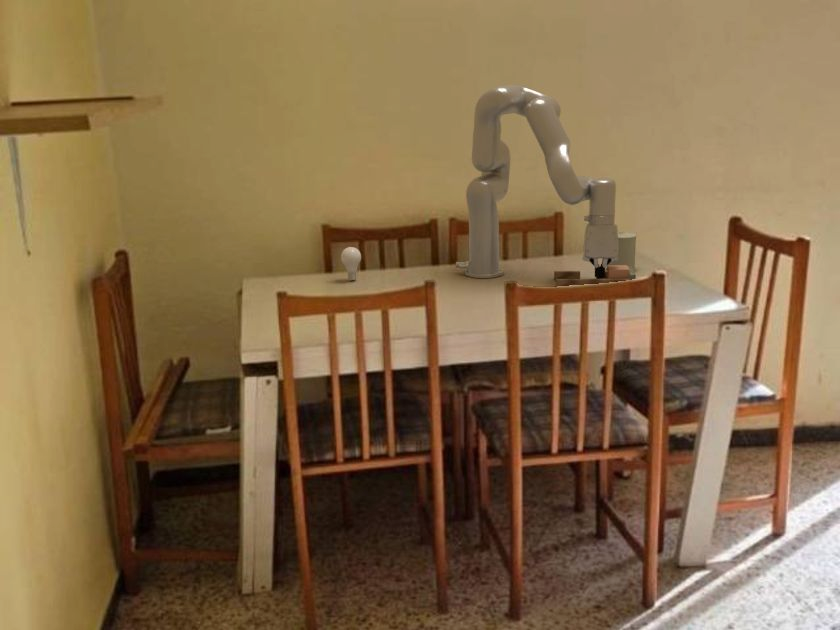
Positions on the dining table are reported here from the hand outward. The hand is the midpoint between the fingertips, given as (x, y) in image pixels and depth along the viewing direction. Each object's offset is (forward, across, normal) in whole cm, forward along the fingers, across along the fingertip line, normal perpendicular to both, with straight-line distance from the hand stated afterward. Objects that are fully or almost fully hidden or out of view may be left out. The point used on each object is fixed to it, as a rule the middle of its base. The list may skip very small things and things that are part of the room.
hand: (599, 279), depth 273 cm
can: (+2, +8, +18) cm, 20 cm away
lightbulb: (+2, -78, +5) cm, 78 cm away
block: (+1, +6, 0) cm, 6 cm away
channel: (+1, -2, 0) cm, 3 cm away
